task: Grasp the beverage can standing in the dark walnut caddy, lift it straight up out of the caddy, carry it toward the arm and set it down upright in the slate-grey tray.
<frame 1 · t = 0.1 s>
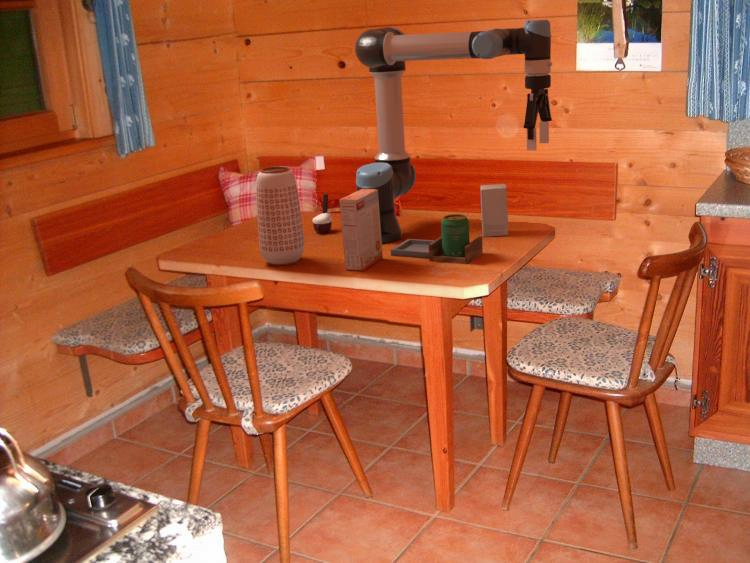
hand: (538, 146, 259), 28 cm above the table, fingers open, 13 cm apart
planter: (283, 262, 258), on the table
beverage can: (456, 257, 251), resting in caddy
caddy: (456, 256, 251), on the table
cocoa: (323, 232, 290), on the table
cracker box: (364, 264, 250), on the table
skincare box: (494, 234, 273), on the table
tray: (419, 251, 259), on the table
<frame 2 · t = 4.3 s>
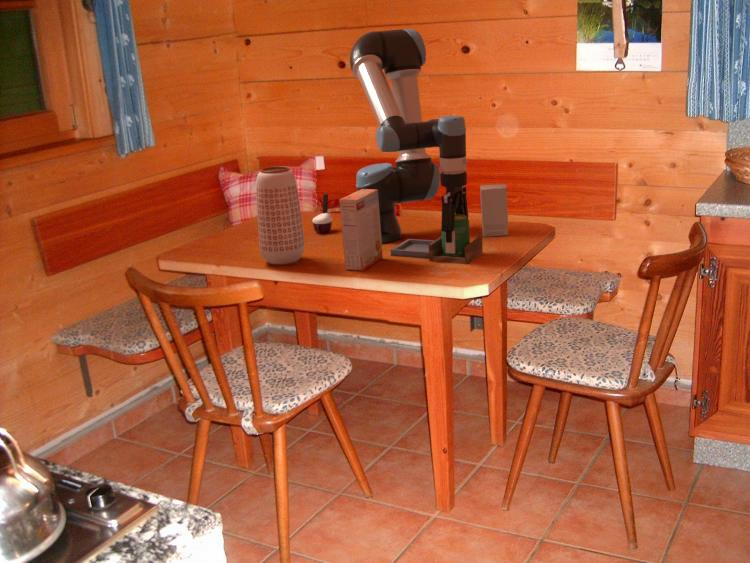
hand: (456, 248, 250), 2 cm above the table, fingers closed on beverage can, 8 cm apart
beverage can: (456, 257, 251), resting in caddy, touching gripper
everything else where it was.
when the fingers open (4 cm above the table, at t = 9.8 s): beverage can drops 1 cm, resting on tray.
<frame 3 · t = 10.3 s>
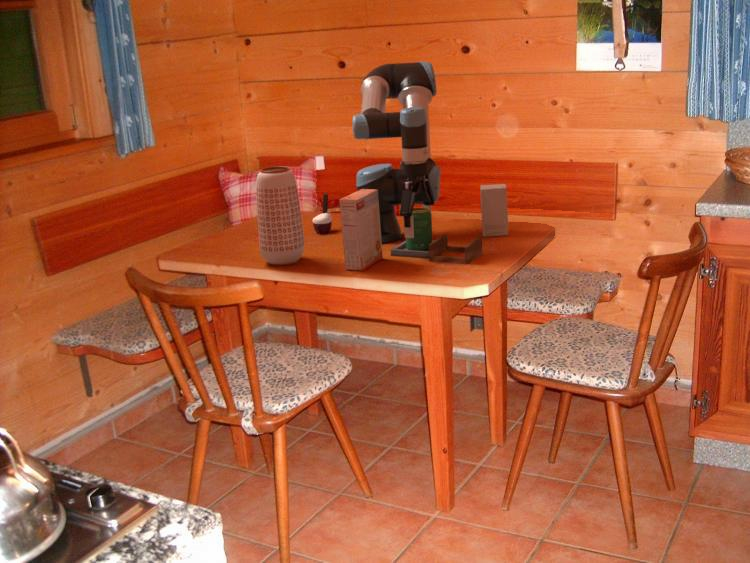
hand: (418, 232, 258), 6 cm above the table, fingers open, 13 cm apart
beverage can: (419, 249, 259), resting on tray
everything else where it was.
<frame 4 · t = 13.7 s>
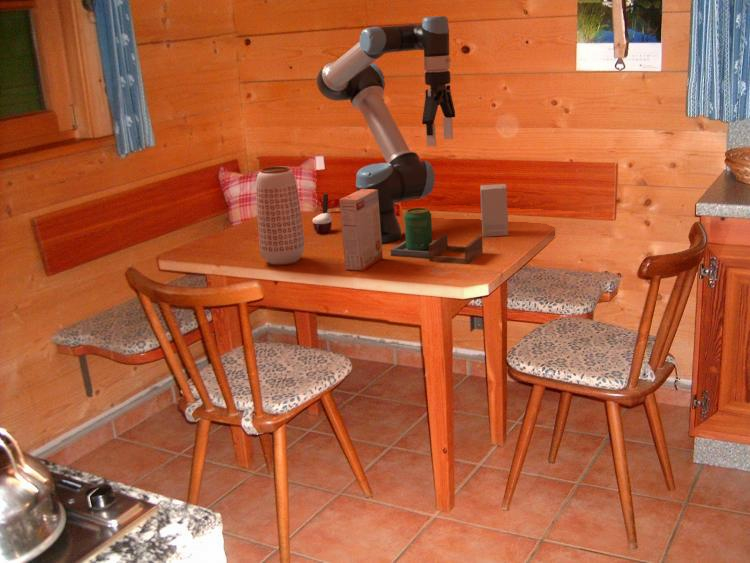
hand: (440, 142, 261), 31 cm above the table, fingers open, 13 cm apart
nothing on the table moved.
at the end: beverage can inside the target area on the tray (0.1 cm from its centre), point 0.4 cm above the tray's base; beverage can tilted 0°; the gripper is holding nothing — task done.
